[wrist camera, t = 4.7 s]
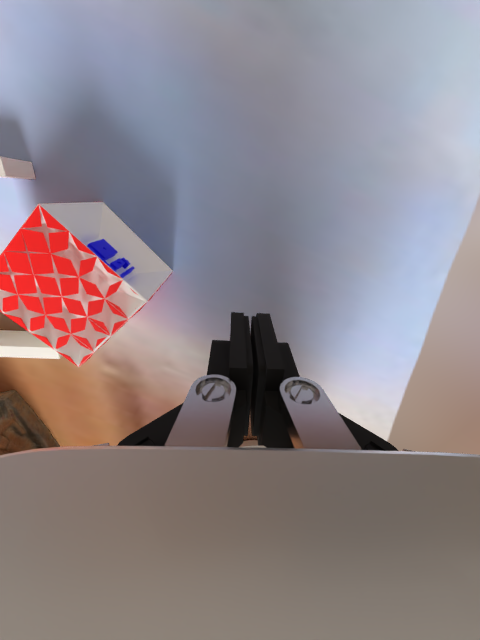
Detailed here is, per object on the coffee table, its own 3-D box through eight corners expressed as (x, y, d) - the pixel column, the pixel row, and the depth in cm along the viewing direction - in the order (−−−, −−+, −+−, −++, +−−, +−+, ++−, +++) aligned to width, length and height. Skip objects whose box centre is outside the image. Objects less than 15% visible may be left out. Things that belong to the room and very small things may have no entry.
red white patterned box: (51, 263, 24) (-28, 292, 17) (103, 201, 22) (37, 203, 15) (121, 322, 27) (79, 368, 19) (174, 271, 24) (148, 302, 17)
